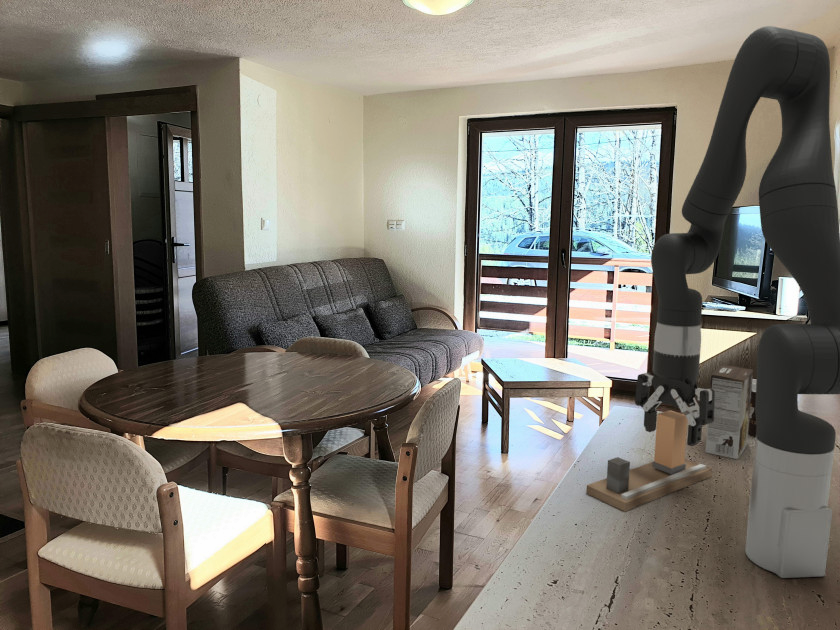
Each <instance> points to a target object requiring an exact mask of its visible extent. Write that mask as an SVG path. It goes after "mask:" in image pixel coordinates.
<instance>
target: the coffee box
mask: <svg viewBox="0 0 840 630" xmlns="http://www.w3.org/2000/svg"><path fill="white" fill-rule="evenodd" d="M753 378H754V369H753V368H752V369H751V368H744V367H739V366H733V365H725V364H720V365H719V366H718V367H717V368H716V369H714V371H713V372H712V373H711V374H710V382H709V383H710V384H709V388H712V389H714V391H715V401H714V422H712V423H709V424H706V425H707V426H706V434H705V435H706V436H705V447H704V451H705V453H707V454H711V455H716V456H719V457H725V458H730V459H735V460H739V459H740V457H741V456H742V454H743V452H744V451H745V449H746V447H747V446H748V438H749V434H748V428H749V415H750V404H751V392H752V383H753Z"/></svg>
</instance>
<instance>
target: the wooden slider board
mask: <svg viewBox="0 0 840 630" xmlns="http://www.w3.org/2000/svg"><path fill="white" fill-rule="evenodd" d="M652 463H653V461H651V462H649V463H645V464H642V465H640V466H638V467H634V468H632V469H631V468H630V465H631V461H629V460H626V459H623V458H621V457H618V456H617V457H614V458H611V459H608V460H607V471H606V477H605V478H603V479H600V480H598V481H595V482H594V481H593V482H592V483H589V484H586V492H585V493H586V494H587V495H589V496H591V497H593V498H594V499H597V500H599V501H601V502H604V503H605V504H607V505H609V506H612V507H614V508H615V509H618V510H620V511H622V512H628V511H630V510H632V509H635V508H637V507H641V506H642V505H645V504H647V503H649V502H652V501H654V500H657V499H660V498H662V497H665V496H667V495H669V494H672V493H674V492H676V491H679V490H681V489H684V488H686V487H689V486H691V485H695V484H696V483H699V482H701V481H703V480H706V479H709V478H711V477H712V474H713V468H711V467H709V466H707V465H705V464H703V463H698V462H694V461H692V460H689V459H687V458H685V459H684V463H685V464H686V469H685V470H682V471H680V472H677V473H674V474H669V473H667V472H664V471H661V470H659V469H656V468H654V467H652Z"/></svg>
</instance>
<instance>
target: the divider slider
mask: <svg viewBox="0 0 840 630" xmlns="http://www.w3.org/2000/svg"><path fill="white" fill-rule="evenodd" d="M687 428H688V419H687V417H686V416H685V415H684V414H683V413H682V412H676V411H674V410H671V409H669V410H666V411H662V412H657V422H656V430H655V443H654V444H655V447H654V459H653V461H652V462H653V463H652V467H654V468H656V469H659V470H661V471H664V472H667V473H669V474H674V473H677V472H680V471H682V470H685V469H686V464H685V463H684V459H686V458H685V457H686V456H685V455H686V444H687V442H686V441H687V433H688V429H687Z"/></svg>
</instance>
